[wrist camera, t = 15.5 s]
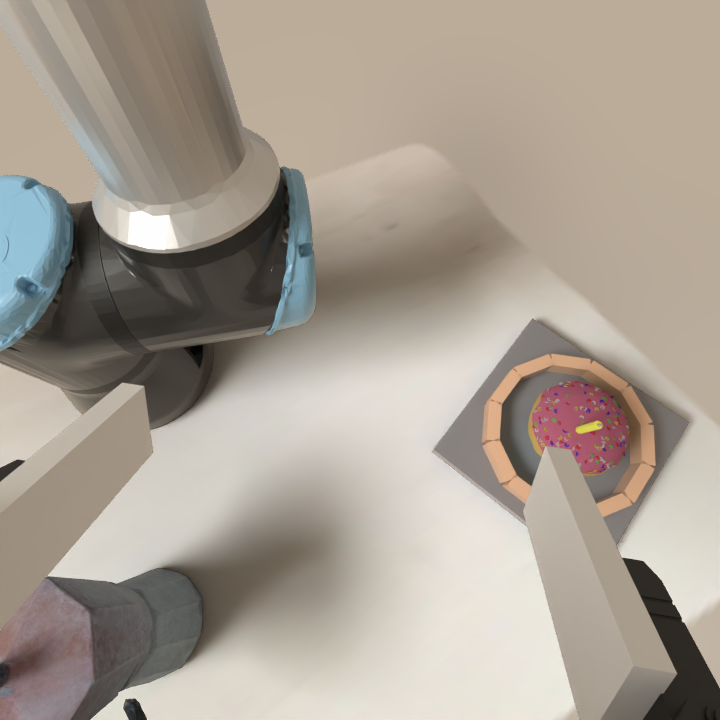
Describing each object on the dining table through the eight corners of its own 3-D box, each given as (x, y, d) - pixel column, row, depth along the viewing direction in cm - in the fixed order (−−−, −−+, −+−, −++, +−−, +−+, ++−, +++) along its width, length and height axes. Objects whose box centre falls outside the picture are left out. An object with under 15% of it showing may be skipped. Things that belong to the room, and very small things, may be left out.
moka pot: (155, 519, 44) (-4, 521, 26) (254, 652, 41) (153, 770, 22) (71, 593, 42) (-168, 655, 24) (167, 741, 39) (-29, 956, 20)
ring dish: (431, 451, 46) (436, 446, 43) (528, 323, 50) (539, 310, 47) (589, 575, 42) (608, 580, 39) (679, 425, 46) (703, 418, 43)
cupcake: (557, 499, 43) (624, 493, 31) (496, 427, 45) (538, 397, 34) (620, 444, 44) (706, 419, 33) (558, 377, 47) (619, 333, 35)
